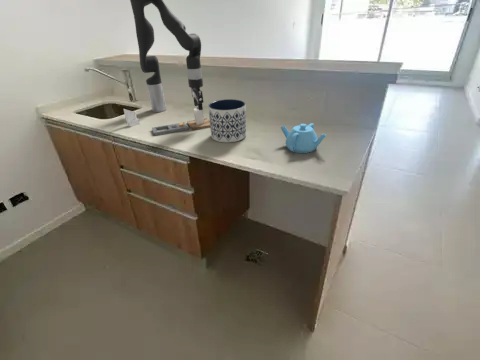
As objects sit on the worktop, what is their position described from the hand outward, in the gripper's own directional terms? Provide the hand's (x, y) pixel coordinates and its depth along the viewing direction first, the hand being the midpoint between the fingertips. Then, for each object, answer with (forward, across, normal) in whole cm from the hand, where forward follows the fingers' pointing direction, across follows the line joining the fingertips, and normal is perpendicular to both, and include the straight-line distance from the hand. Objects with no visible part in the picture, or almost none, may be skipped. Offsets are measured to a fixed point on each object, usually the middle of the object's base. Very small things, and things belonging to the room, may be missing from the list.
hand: (198, 107), depth 150 cm
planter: (+10, +24, +8) cm, 27 cm away
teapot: (+9, +52, +33) cm, 62 cm away
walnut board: (+10, 0, 0) cm, 10 cm away
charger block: (+9, 0, 0) cm, 9 cm away
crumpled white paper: (+10, -19, -35) cm, 41 cm away
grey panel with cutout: (+10, 0, -18) cm, 20 cm away
